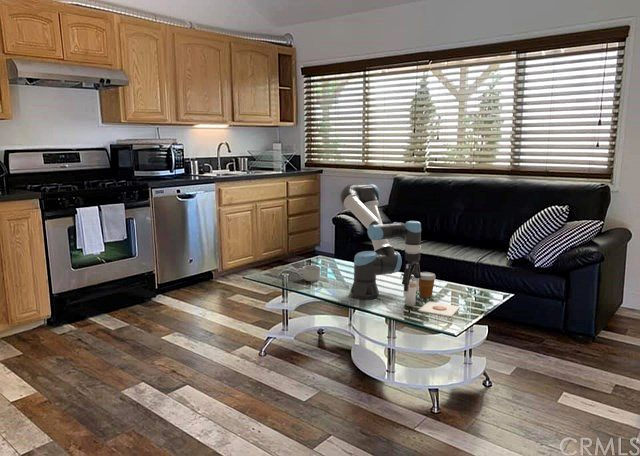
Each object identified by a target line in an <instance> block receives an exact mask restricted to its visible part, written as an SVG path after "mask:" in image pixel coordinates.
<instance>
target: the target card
mask: <svg viewBox="0 0 640 456" xmlns="http://www.w3.org/2000/svg"><path fill="white" fill-rule="evenodd" d="M460 308H461V306H458V305H453V304H447V303H441V302H435V301H430V300H429V301H428V302H426V303H425V304H424V305H422V306H421V307H420V308H419V309H418V312H419V313H426V314H431V315H437V316H443V317H448V318H452V317H453V316H454V315H455V314H456V313H457V312H458V311H459V310H460Z"/></svg>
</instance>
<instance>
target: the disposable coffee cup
mask: <svg viewBox="0 0 640 456" xmlns="http://www.w3.org/2000/svg"><path fill="white" fill-rule="evenodd" d="M420 273H421V278H419V291H418V292H419V296H420V297H421V298H431V297H432V296H433V291H434V290H433V289H434V285H435V280H436V278H437V277H436V274H435V273H433V272H429V271H422V272H421V271H420Z"/></svg>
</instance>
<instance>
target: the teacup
mask: <svg viewBox="0 0 640 456" xmlns="http://www.w3.org/2000/svg"><path fill="white" fill-rule="evenodd" d="M321 269H322V267H320V266H318V265H313V264H312V265H311V264H308V265H304V266H302V268H301V267H299V268H297V270H296V273H297V275H299V276H300V277H301V278H303V279H304V280H305V281H307V282H311V283H312V282H314V283H315V282H317V281H318V280H320V278H321ZM300 271H301V272H302V273H300Z"/></svg>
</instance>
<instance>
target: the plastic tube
mask: <svg viewBox="0 0 640 456" xmlns="http://www.w3.org/2000/svg"><path fill="white" fill-rule="evenodd" d="M409 284H410V291H409V298H407V297H405V305H406V306H408V307H413V306H416V301H417V300H416V299H417V297H416V296H417V291H416V281H414V280H413V279H410V282H409Z"/></svg>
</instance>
